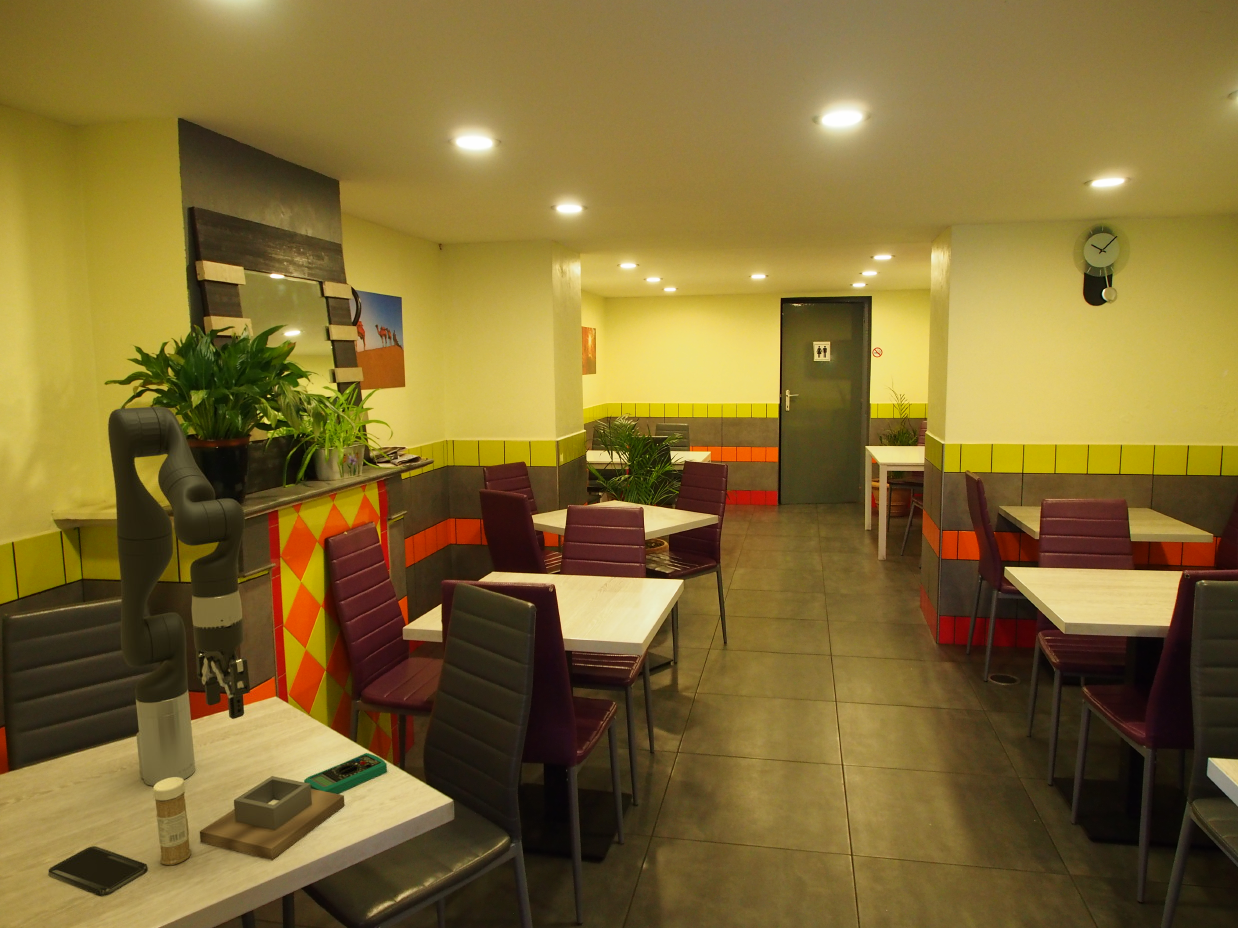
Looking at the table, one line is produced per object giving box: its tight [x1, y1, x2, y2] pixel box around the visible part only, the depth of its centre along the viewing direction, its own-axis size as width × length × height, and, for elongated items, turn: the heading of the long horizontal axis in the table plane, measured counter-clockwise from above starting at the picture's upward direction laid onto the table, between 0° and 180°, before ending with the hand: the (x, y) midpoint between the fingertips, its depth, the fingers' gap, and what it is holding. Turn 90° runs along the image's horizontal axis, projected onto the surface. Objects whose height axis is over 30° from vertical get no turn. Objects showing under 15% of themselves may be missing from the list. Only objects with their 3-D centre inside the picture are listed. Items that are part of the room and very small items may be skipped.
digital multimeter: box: [304, 752, 388, 795], centre depth 163 cm, size 7×15×3 cm, turn 139°
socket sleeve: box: [233, 775, 312, 830], centre depth 148 cm, size 9×9×4 cm
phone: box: [48, 845, 148, 897], centre depth 135 cm, size 8×1×15 cm
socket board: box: [199, 789, 345, 861], centre depth 148 cm, size 16×18×2 cm
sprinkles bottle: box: [152, 777, 192, 866], centre depth 138 cm, size 5×5×14 cm
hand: (225, 710), depth 140 cm, fingers open, 8 cm apart
